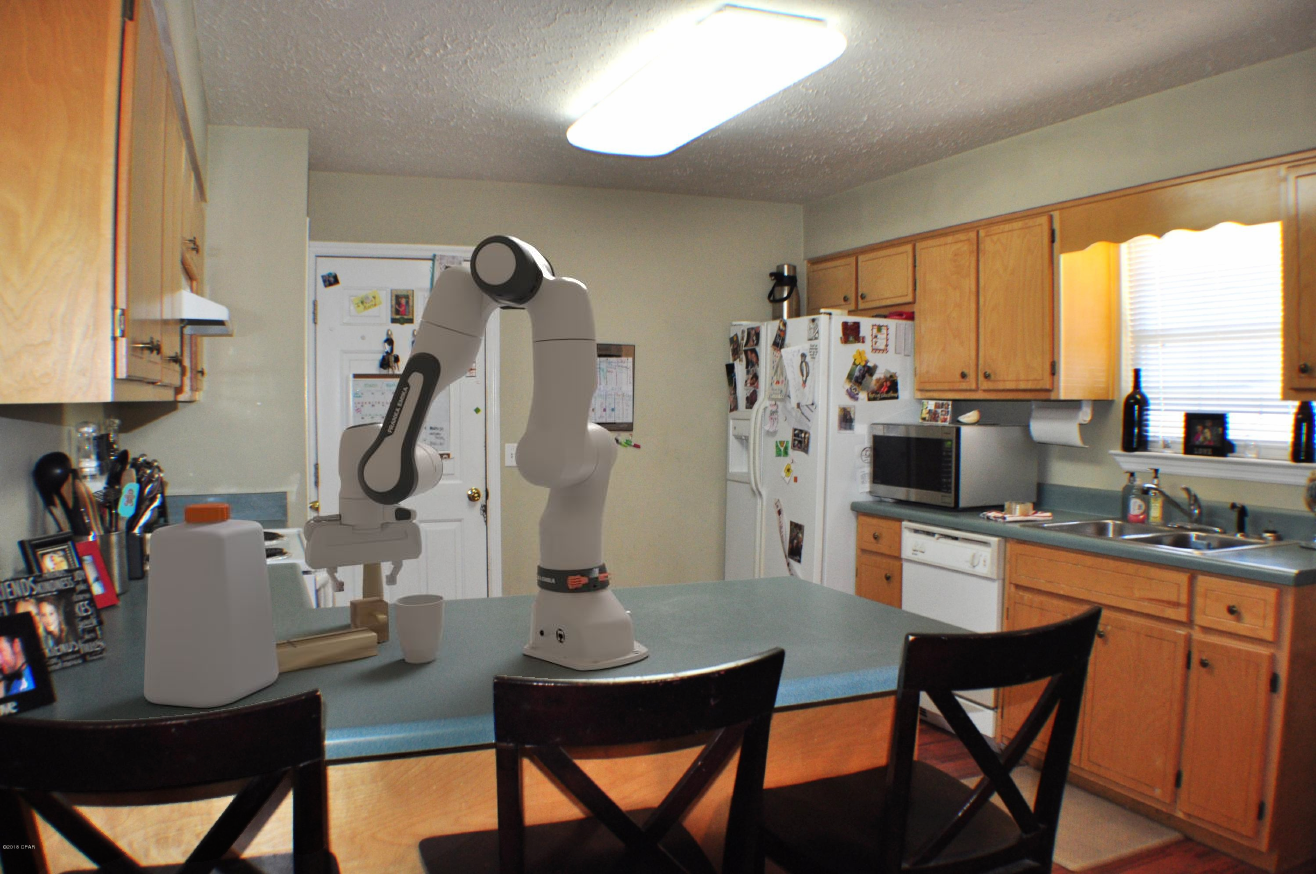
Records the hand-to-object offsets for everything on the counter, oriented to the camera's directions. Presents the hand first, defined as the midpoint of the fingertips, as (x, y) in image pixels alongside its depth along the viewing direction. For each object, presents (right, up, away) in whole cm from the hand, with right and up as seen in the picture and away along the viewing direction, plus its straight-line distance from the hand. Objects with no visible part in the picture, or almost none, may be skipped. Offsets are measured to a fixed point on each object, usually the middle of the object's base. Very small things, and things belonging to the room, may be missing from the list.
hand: (365, 588), depth 154 cm
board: (-3, -10, -12) cm, 16 cm away
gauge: (+2, -9, -2) cm, 10 cm away
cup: (+14, -10, -12) cm, 21 cm away
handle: (-3, -9, +14) cm, 17 cm away
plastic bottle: (-13, -11, -27) cm, 32 cm away
